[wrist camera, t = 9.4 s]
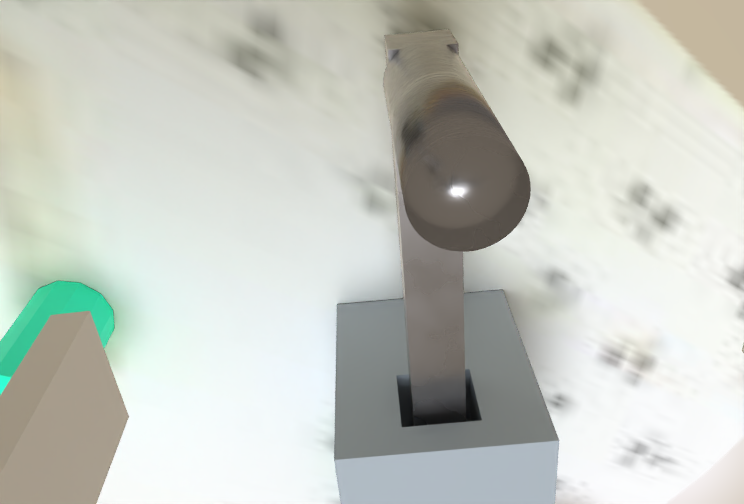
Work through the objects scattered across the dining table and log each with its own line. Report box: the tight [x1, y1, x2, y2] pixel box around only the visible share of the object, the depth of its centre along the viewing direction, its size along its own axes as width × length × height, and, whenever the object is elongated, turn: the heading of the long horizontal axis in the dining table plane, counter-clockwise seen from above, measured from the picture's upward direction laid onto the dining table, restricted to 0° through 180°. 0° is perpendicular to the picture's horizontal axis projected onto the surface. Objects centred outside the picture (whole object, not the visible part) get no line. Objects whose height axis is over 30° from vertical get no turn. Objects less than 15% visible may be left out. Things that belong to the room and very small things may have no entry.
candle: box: [0, 281, 114, 395], centre depth 44 cm, size 6×6×12 cm
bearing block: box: [334, 290, 559, 504], centre depth 46 cm, size 10×12×15 cm
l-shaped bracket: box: [383, 29, 531, 426], centre depth 33 cm, size 30×4×15 cm, turn 5°
